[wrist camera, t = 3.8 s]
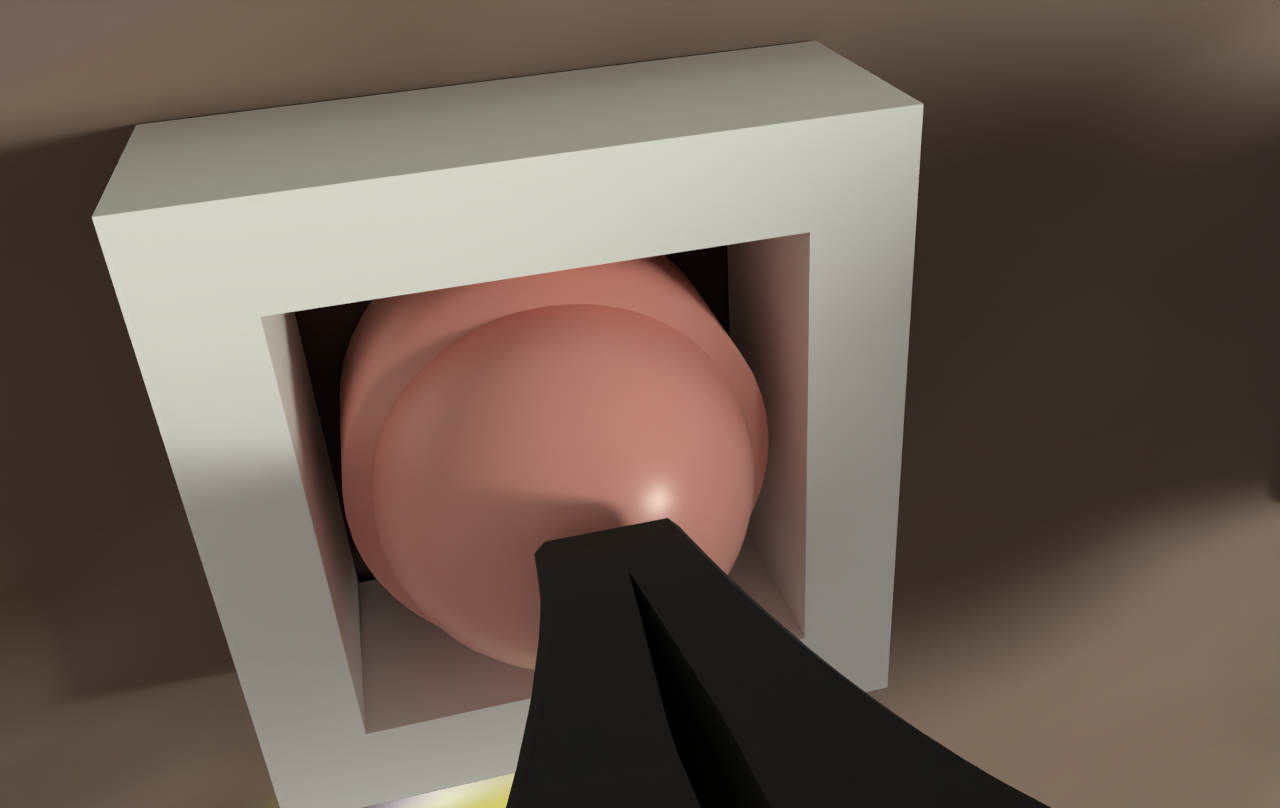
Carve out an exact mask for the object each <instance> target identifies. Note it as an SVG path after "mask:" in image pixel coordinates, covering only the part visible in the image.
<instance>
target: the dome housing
mask: <svg viewBox="0 0 1280 808" xmlns="http://www.w3.org/2000/svg"><path fill="white" fill-rule="evenodd" d="M923 105H924V104H923V103H921V102H919V101H918V100H916V99H914V98H913V97H911V96H909V95H908V94H906V93H904V92H902V91H901V90H899V89H897V88H896V87H894V86H892V85H890V84H889V83H887V82H885V81H884V80H882V79H880V78H879V77H877V76H875V75H873V74H872V73H870V72H868V71H867V70H865V69H863V68H862V67H860V66H858V65H856V64H855V63H853V62H851V61H850V60H848V59H846V58H844V57H843V56H841V55H839V54H838V53H836V52H834V51H833V50H831V49H829V48H827V47H826V46H824V45H822V44H821V43H819V42H817V41H808V42H800V43H792V44H784V45H776V46H768V47H760V48H752V49H744V50H736V51H728V52H720V53H712V54H703V55H695V56H687V57H679V58H671V59H663V60H655V61H647V62H639V63H631V64H623V65H615V66H606V67H598V68H590V69H582V70H574V71H566V72H558V73H550V74H542V75H534V76H526V77H518V78H510V79H501V80H493V81H485V82H477V83H469V84H461V85H453V86H445V87H437V88H429V89H421V90H413V91H405V92H396V93H388V94H380V95H372V96H364V97H356V98H348V99H340V100H332V101H324V102H316V103H308V104H300V105H291V106H283V107H275V108H267V109H259V110H251V111H243V112H235V113H227V114H219V115H211V116H203V117H195V118H186V119H178V120H170V121H162V122H154V123H146V124H138V125H136V126H135V128H134V130H133V132H132V134H131V136H130V139H129V141H128V143H127V145H126V147H125V149H124V151H123V153H122V155H121V157H120V159H119V161H118V164H117V166H116V168H115V170H114V172H113V174H112V176H111V178H110V180H109V182H108V184H107V186H106V188H105V191H104V193H103V195H102V197H101V199H100V201H99V203H98V205H97V207H96V209H95V211H94V213H93V215H92V220H93V223H94V226H95V229H96V232H97V235H98V239H99V242H100V245H101V248H102V251H103V254H104V257H105V261H106V264H107V267H108V270H109V273H110V276H111V279H112V282H113V286H114V289H115V292H116V295H117V298H118V301H119V304H120V308H121V311H122V314H123V317H124V320H125V323H126V326H127V329H128V333H129V336H130V339H131V342H132V345H133V348H134V351H135V355H136V358H137V361H138V364H139V367H140V370H141V373H142V377H143V380H144V383H145V386H146V389H147V392H148V395H149V398H150V402H151V405H152V408H153V411H154V414H155V417H156V420H157V424H158V427H159V430H160V433H161V436H162V439H163V442H164V446H165V449H166V452H167V455H168V458H169V461H170V464H171V467H172V471H173V474H174V477H175V480H176V483H177V486H178V489H179V493H180V496H181V499H182V502H183V505H184V508H185V511H186V514H187V518H188V521H189V524H190V527H191V530H192V533H193V536H194V540H195V543H196V546H197V549H198V552H199V555H200V558H201V562H202V565H203V568H204V571H205V574H206V577H207V580H208V583H209V587H210V590H211V593H212V596H213V599H214V602H215V605H216V609H217V612H218V615H219V618H220V621H221V624H222V627H223V630H224V634H225V637H226V640H227V643H228V646H229V649H230V652H231V656H232V659H233V662H234V665H235V668H236V671H237V674H238V678H239V681H240V684H241V687H242V690H243V693H244V696H245V699H246V703H247V706H248V709H249V712H250V715H251V718H252V721H253V725H254V728H255V731H256V734H257V737H258V740H259V743H260V746H261V750H262V753H263V756H264V759H265V762H266V765H267V768H268V772H269V775H270V778H271V781H272V784H273V787H274V790H275V794H276V797H277V800H278V803H279V806H280V808H362V807H367V806H371V805H375V804H380V803H384V802H388V801H393V800H397V799H402V798H406V797H410V796H415V795H419V794H423V793H428V792H432V791H437V790H441V789H445V788H450V787H454V786H458V785H463V784H467V783H472V782H476V781H480V780H485V779H489V778H493V777H498V776H502V775H507V774H511V773H515V772H516V767H517V763H518V758H519V753H520V749H521V744H522V739H523V735H524V730H525V725H526V721H527V716H528V711H529V706H530V700H531V695H532V687H533V680H534V672H535V670H534V669H527V668H521V667H518V666H514V665H510V664H507V663H503V662H501V661H498V660H495V659H493V658H490V657H488V656H486V655H483V654H481V653H478V652H476V651H474V650H472V649H470V648H469V647H467V646H465V645H463V644H461V643H460V642H458V641H457V640H455V639H454V638H453V637H452V636H450V635H449V634H448V633H446V632H445V631H444V630H442V629H441V628H440V627H438V626H436V625H434V624H433V623H431V622H429V621H427V620H426V619H424V618H422V617H420V616H419V615H417V614H415V613H413V612H412V611H411V610H409V609H408V608H407V607H406V606H404V605H403V604H402V603H400V602H399V601H398V600H396V599H395V598H394V597H393V596H392V595H391V594H390V593H389V592H388V591H387V590H386V589H385V588H384V587H383V586H382V585H381V584H380V583H379V582H378V580H377V579H375V580H370V581H365V582H360V583H358V579H357V575H356V571H355V566H354V562H353V558H352V554H351V549H350V545H349V541H348V537H347V532H346V528H345V524H344V520H343V515H342V511H341V507H340V503H339V498H338V494H337V490H336V486H335V481H334V477H333V473H332V469H331V464H330V460H329V456H328V452H327V447H326V443H325V439H324V435H323V430H322V426H321V422H320V418H319V413H318V409H317V405H316V401H315V396H314V392H313V388H312V384H311V379H310V375H309V371H308V367H307V362H306V358H305V354H304V350H303V346H302V341H301V337H300V333H299V329H298V324H297V320H296V316H295V311H302V310H308V309H315V308H321V307H328V306H334V305H341V304H347V303H354V302H360V301H367V300H373V299H380V298H386V297H393V296H399V295H406V294H412V293H419V292H425V291H432V290H438V289H445V288H451V287H458V286H464V285H470V284H477V283H483V282H490V281H496V280H503V279H509V278H516V277H522V276H529V275H535V274H542V273H548V272H555V271H561V270H568V269H574V268H581V267H587V266H594V265H600V264H607V263H613V262H620V261H626V260H633V259H639V258H646V257H652V256H659V255H665V254H672V253H678V252H685V251H691V250H698V249H704V248H711V247H717V246H724V245H727V255H728V294H729V333H730V338H731V340H732V341H733V343H734V344H735V346H736V347H737V348H738V350H739V351H740V353H741V354H742V356H743V358H744V359H745V361H746V363H747V364H748V366H749V368H750V369H751V371H752V373H753V375H754V377H755V380H756V382H757V385H758V387H759V390H760V392H761V395H762V399H763V403H764V407H765V411H766V416H767V426H768V438H769V441H768V456H767V465H766V470H765V475H764V480H763V485H762V488H761V491H760V493H759V496H758V499H757V502H756V505H755V507H754V509H753V511H752V513H751V515H750V519H749V524H748V528H747V532H746V536H745V538H744V541H743V544H742V547H741V550H740V553H739V555H738V557H737V559H736V561H735V563H734V565H733V567H732V569H731V571H730V572H729V574H728V576H729V577H730V578H731V579H732V580H733V581H734V582H735V583H736V584H737V585H738V586H740V587H741V588H742V589H743V590H744V591H745V592H746V593H747V594H748V595H749V596H750V597H751V598H752V599H753V600H755V601H756V602H757V603H758V604H759V605H760V606H761V607H762V608H763V609H764V610H766V611H767V612H768V613H769V614H770V615H771V616H772V617H774V618H775V619H776V620H777V621H778V622H779V623H781V624H782V625H783V626H784V627H785V628H786V629H787V630H789V631H790V632H791V633H792V634H793V635H794V636H796V637H797V638H798V639H799V640H800V641H801V642H803V643H804V644H805V645H806V646H807V647H808V648H810V649H811V650H812V651H813V652H815V653H816V654H817V655H818V656H819V657H821V658H822V659H823V660H824V661H826V662H827V663H828V664H829V665H831V666H832V667H833V668H834V669H836V670H837V671H838V672H839V673H841V674H842V675H843V676H845V677H846V678H847V679H849V680H850V681H851V682H853V683H854V684H855V685H857V686H858V687H859V688H861V689H862V690H863V691H864V692H869V691H874V690H878V689H882V688H887V684H888V668H889V652H890V636H891V620H892V604H893V588H894V571H895V555H896V539H897V523H898V507H899V491H900V475H901V459H902V443H903V427H904V411H905V394H906V378H907V362H908V346H909V330H910V314H911V298H912V282H913V266H914V250H915V233H916V217H917V201H918V185H919V169H920V153H921V137H922V121H923Z"/></svg>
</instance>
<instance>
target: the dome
mask: <svg viewBox="0 0 1280 808" xmlns="http://www.w3.org/2000/svg"><path fill="white" fill-rule="evenodd" d="M340 435H341V465H342V494H343V501H344V507H345V514H346V519H347V522H348V525H349V529H350V532H351V535H352V538H353V541H354V543H355V545H356V547H357V549H358V551H359V553H360V555H361V557H362V559H363V561H364V562H365V564H366V565H367V567H368V568H369V569H370V571H371V572H372V574H373V575H374V576H375V578H376V579H377V580H378V582H379V583H380V584H381V585H382V586H383V587H384V588H385V589H386V590H387V591H388V592H389V593H390V594H391V595H392V596H393V597H394V598H395V599H396V600H398V601H399V602H400V603H402V604H403V605H404V606H406V607H407V608H408V609H409V610H411V611H412V612H413V613H415V614H417V615H419V616H420V617H422V618H424V619H426V620H427V621H429V622H431V623H433V624H434V625H436V626H438V627H440V628H441V629H442V630H444V631H445V632H446V633H448V634H449V635H450V636H452V637H453V638H454V639H455V640H457V641H458V642H460V643H461V644H463V645H465V646H467V647H469V648H470V649H472V650H474V651H476V652H478V653H481V654H483V655H486V656H488V657H490V658H493V659H495V660H498V661H501V662H503V663H507V664H510V665H514V666H518V667H521V668H527V669H534V670H535V664H536V656H537V649H538V641H539V626H540V592H539V585H538V578H537V570H536V563H535V555H534V553H535V552H536V551H537V550H538V549H539V548H540V546H541V545H542V544H543V543H544V542H545V541H550V540H555V539H561V538H566V537H571V536H576V535H581V534H587V533H592V532H597V531H602V530H607V529H612V528H618V527H623V526H628V525H633V524H638V523H644V522H649V521H654V520H659V519H664V518H669V519H670V520H671V521H673V522H674V523H676V524H677V525H679V526H680V527H681V528H682V530H683V531H684V532H685V533H686V534H687V535H688V536H689V537H690V538H691V539H692V540H693V541H694V542H695V543H696V544H697V545H698V546H699V547H700V548H701V549H702V550H703V551H704V552H705V553H706V554H707V555H708V556H709V557H710V558H711V559H712V560H713V561H714V562H715V563H716V564H717V565H718V566H719V567H720V568H721V569H722V570H723V571H724V572H725V573H726V574H727V575H728V574H729V572H730V571H731V569H732V567H733V565H734V563H735V561H736V559H737V557H738V555H739V553H740V550H741V547H742V544H743V541H744V538H745V536H746V532H747V528H748V524H749V519H750V515H751V513H752V511H753V509H754V507H755V505H756V502H757V499H758V496H759V493H760V491H761V488H762V485H763V480H764V475H765V470H766V465H767V456H768V441H769V438H768V426H767V416H766V411H765V407H764V403H763V399H762V395H761V392H760V390H759V387H758V385H757V382H756V380H755V377H754V375H753V373H752V371H751V369H750V368H749V366H748V364H747V363H746V361H745V359H744V358H743V356H742V354H741V353H740V351H739V350H738V348H737V347H736V346H735V344H734V343H733V341H732V340H731V338H730V337H729V336H728V334H727V333H726V331H725V330H724V328H723V327H722V326H721V324H720V323H719V321H718V320H717V318H716V317H715V316H714V314H713V313H712V311H711V310H710V308H709V307H708V306H707V304H706V303H705V301H704V300H703V298H702V297H701V296H700V294H699V293H698V291H697V290H696V288H695V287H694V286H693V284H692V283H691V282H690V280H689V279H688V278H687V277H686V276H685V274H684V273H683V272H682V271H681V270H680V269H679V267H678V266H677V265H676V264H675V263H673V262H672V261H671V260H670V259H669V258H668V257H667V256H665V255H659V256H652V257H646V258H639V259H633V260H626V261H620V262H613V263H607V264H600V265H594V266H587V267H581V268H574V269H568V270H561V271H555V272H548V273H542V274H535V275H529V276H522V277H516V278H509V279H503V280H496V281H490V282H483V283H477V284H470V285H464V286H458V287H451V288H445V289H438V290H432V291H425V292H419V293H412V294H406V295H399V296H393V297H386V298H380V299H373V300H372V301H371V303H370V304H369V306H368V307H367V309H366V310H365V312H364V313H363V315H362V316H361V319H360V321H359V323H358V325H357V327H356V329H355V331H354V333H353V335H352V337H351V339H350V343H349V346H348V349H347V352H346V355H345V358H344V362H343V368H342V374H341V380H340Z"/></svg>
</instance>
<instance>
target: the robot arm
mask: <svg viewBox="0 0 1280 808" xmlns="http://www.w3.org/2000/svg"><path fill="white" fill-rule="evenodd" d="M534 555H535V563H536V570H537V578H538V585H539V592H540V626H539V641H538V649H537V656H536V664H535V672H534V680H533V687H532V695H531V700H530V706H529V711H528V716H527V721H526V725H525V730H524V735H523V739H522V744H521V749H520V753H519V758H518V763H517V767H516V772H515V776H514V780H513V784H512V787H511V791H510V795H509V799H508V803H507V806H506V808H1051V807H1049V806H1047V805H1045V804H1043V803H1041V802H1039V801H1037V800H1036V799H1034V798H1032V797H1030V796H1028V795H1026V794H1024V793H1022V792H1020V791H1019V790H1017V789H1015V788H1013V787H1011V786H1009V785H1007V784H1005V783H1003V782H1002V781H1000V780H998V779H996V778H995V777H993V776H991V775H990V774H988V773H986V772H984V771H983V770H981V769H979V768H978V767H976V766H974V765H973V764H971V763H969V762H968V761H966V760H964V759H963V758H961V757H959V756H958V755H956V754H955V753H953V752H952V751H950V750H949V749H947V748H945V747H944V746H942V745H941V744H939V743H938V742H936V741H935V740H933V739H931V738H930V737H928V736H927V735H925V734H924V733H922V732H921V731H919V730H918V729H916V728H915V727H913V726H912V725H910V724H909V723H907V722H906V721H905V720H903V719H902V718H900V717H899V716H897V715H896V714H895V713H893V712H892V711H890V710H889V709H888V708H886V707H885V706H883V705H882V704H881V703H879V702H878V701H876V700H875V699H874V698H872V697H871V696H870V695H868V694H867V693H866V692H864V691H863V690H862V689H861V688H859V687H858V686H857V685H855V684H854V683H853V682H851V681H850V680H849V679H847V678H846V677H845V676H843V675H842V674H841V673H839V672H838V671H837V670H836V669H834V668H833V667H832V666H831V665H829V664H828V663H827V662H826V661H824V660H823V659H822V658H821V657H819V656H818V655H817V654H816V653H815V652H813V651H812V650H811V649H810V648H808V647H807V646H806V645H805V644H804V643H803V642H801V641H800V640H799V639H798V638H797V637H796V636H794V635H793V634H792V633H791V632H790V631H789V630H787V629H786V628H785V627H784V626H783V625H782V624H781V623H779V622H778V621H777V620H776V619H775V618H774V617H772V616H771V615H770V614H769V613H768V612H767V611H766V610H764V609H763V608H762V607H761V606H760V605H759V604H758V603H757V602H756V601H755V600H753V599H752V598H751V597H750V596H749V595H748V594H747V593H746V592H745V591H744V590H743V589H742V588H741V587H740V586H738V585H737V584H736V583H735V582H734V581H733V580H732V579H731V578H730V577H729V576H728V575H727V574H726V573H725V572H724V571H723V570H722V569H721V568H720V567H719V566H718V565H717V564H716V563H715V562H714V561H713V560H712V559H711V558H710V557H709V556H708V555H707V554H706V553H705V552H704V551H703V550H702V549H701V548H700V547H699V546H698V545H697V544H696V543H695V542H694V541H693V540H692V539H691V538H690V537H689V536H688V535H687V534H686V533H685V532H684V531H683V530H682V528H681V527H680V526H679V525H677V524H676V523H674V522H673V521H671V520H670V519H669V518H664V519H659V520H654V521H649V522H644V523H638V524H633V525H628V526H623V527H618V528H612V529H607V530H602V531H597V532H592V533H587V534H581V535H576V536H571V537H566V538H561V539H555V540H550V541H545V542H544V543H543V544H542V545H541V546H540V548H539V549H538V550H537V551H536V552H535V553H534Z"/></svg>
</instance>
